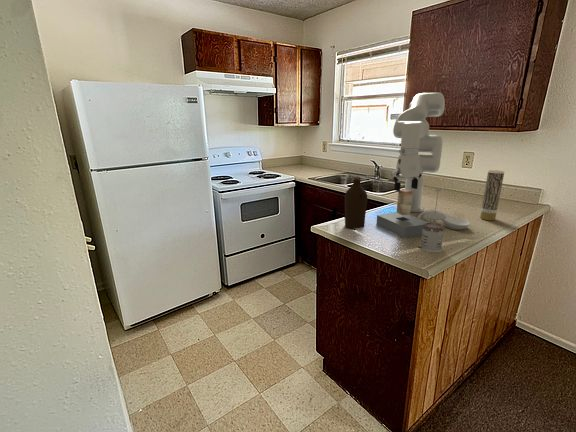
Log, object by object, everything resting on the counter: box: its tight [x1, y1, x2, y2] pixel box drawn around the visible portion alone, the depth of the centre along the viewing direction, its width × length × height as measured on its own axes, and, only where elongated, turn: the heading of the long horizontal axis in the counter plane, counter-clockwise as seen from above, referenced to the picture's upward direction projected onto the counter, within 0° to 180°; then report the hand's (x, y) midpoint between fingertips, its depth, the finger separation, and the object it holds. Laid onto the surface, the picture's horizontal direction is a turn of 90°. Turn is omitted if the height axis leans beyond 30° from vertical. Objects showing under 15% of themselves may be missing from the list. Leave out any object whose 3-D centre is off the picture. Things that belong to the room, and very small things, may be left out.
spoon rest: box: [416, 209, 471, 231], centre depth 152 cm, size 24×12×7 cm, turn 56°
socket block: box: [376, 211, 430, 239], centre depth 146 cm, size 20×14×6 cm
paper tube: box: [480, 169, 505, 221], centre depth 159 cm, size 7×7×25 cm
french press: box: [418, 187, 446, 253], centre depth 125 cm, size 10×12×25 cm
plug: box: [396, 188, 412, 215], centre depth 143 cm, size 4×4×11 cm
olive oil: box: [344, 175, 368, 231], centre depth 150 cm, size 11×11×25 cm
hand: (405, 189), depth 142 cm, fingers open, 9 cm apart
